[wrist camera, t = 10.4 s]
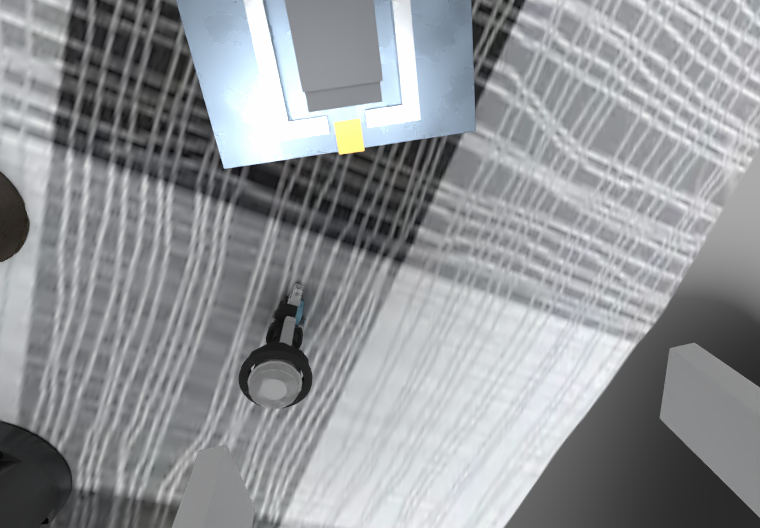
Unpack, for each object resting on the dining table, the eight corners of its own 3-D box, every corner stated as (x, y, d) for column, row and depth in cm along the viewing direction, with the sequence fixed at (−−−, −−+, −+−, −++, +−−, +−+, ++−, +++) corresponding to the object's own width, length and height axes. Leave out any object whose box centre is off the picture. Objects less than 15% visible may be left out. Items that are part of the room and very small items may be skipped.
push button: (271, 273, 37) (250, 335, 28) (328, 290, 38) (326, 354, 29) (253, 334, 39) (228, 409, 30) (307, 347, 40) (299, 424, 31)
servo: (314, 107, 31) (305, 115, 22) (287, -41, 27) (261, -107, 18) (372, 98, 31) (387, 103, 22) (353, -50, 27) (362, -120, 18)
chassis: (227, 168, 33) (220, 174, 31) (156, -84, 26) (141, -98, 24) (472, 132, 33) (480, 134, 31) (462, -123, 27) (472, -140, 25)
